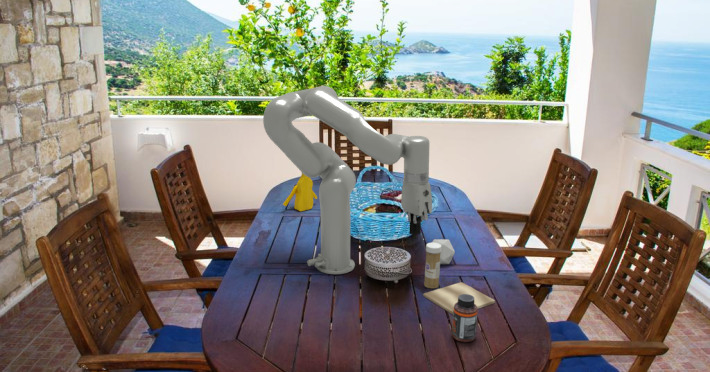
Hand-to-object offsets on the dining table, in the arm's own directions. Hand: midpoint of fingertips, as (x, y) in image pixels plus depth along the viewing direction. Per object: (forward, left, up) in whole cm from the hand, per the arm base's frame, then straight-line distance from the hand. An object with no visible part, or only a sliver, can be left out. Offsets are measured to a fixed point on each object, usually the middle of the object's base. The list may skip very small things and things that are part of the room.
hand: (415, 233), depth 180 cm
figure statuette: (0, +74, -14) cm, 76 cm away
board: (+1, -21, -14) cm, 25 cm away
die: (+14, +2, -14) cm, 20 cm away
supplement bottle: (-12, -37, -14) cm, 41 cm away
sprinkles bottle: (0, -10, -14) cm, 17 cm away
